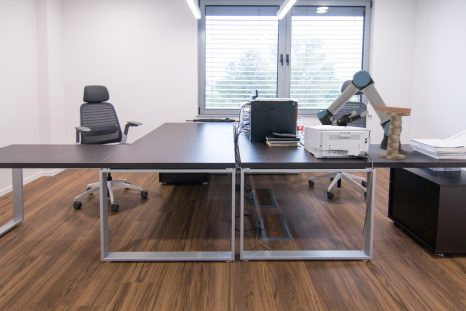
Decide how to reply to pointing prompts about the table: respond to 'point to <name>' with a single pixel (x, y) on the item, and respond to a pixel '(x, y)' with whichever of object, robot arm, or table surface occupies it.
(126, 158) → the table surface
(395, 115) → the pedestal stand
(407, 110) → the bar
